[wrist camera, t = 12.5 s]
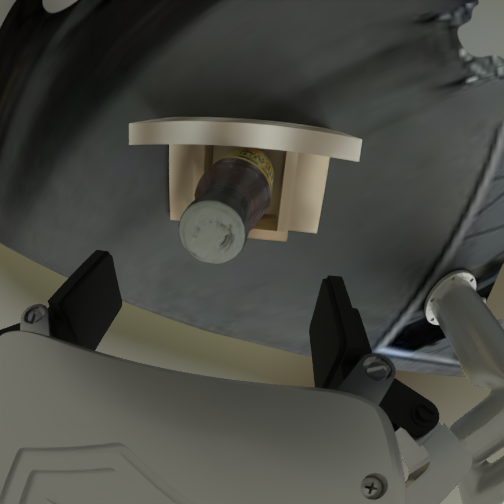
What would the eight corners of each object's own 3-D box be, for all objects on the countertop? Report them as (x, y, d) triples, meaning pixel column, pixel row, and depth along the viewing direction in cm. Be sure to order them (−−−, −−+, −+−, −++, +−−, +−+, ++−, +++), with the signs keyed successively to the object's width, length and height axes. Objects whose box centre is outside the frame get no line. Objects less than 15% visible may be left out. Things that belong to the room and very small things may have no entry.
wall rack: (331, 129, 31) (362, 139, 20) (315, 230, 38) (332, 280, 27) (172, 117, 31) (129, 123, 20) (172, 217, 38) (138, 260, 27)
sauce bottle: (283, 176, 33) (294, 259, 16) (241, 201, 35) (209, 301, 18) (254, 132, 31) (229, 162, 13) (212, 160, 33) (143, 223, 15)
